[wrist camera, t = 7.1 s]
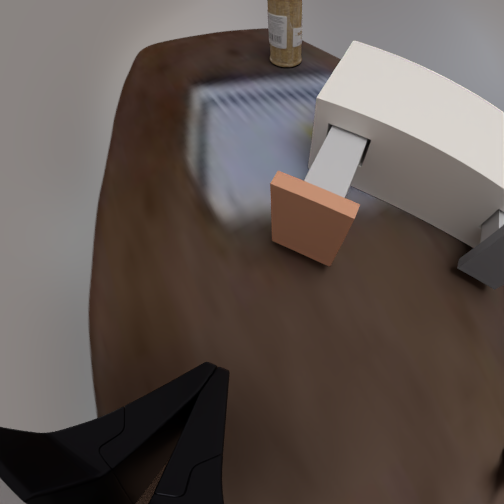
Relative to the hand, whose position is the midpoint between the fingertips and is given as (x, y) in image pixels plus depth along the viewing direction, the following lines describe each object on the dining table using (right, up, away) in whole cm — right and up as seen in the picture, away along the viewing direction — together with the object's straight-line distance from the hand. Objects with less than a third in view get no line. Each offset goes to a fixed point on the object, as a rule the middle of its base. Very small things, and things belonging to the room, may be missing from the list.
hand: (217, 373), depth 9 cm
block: (+19, +13, +18) cm, 29 cm away
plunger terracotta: (+8, +10, +16) cm, 20 cm away
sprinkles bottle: (+6, +31, +26) cm, 41 cm away
